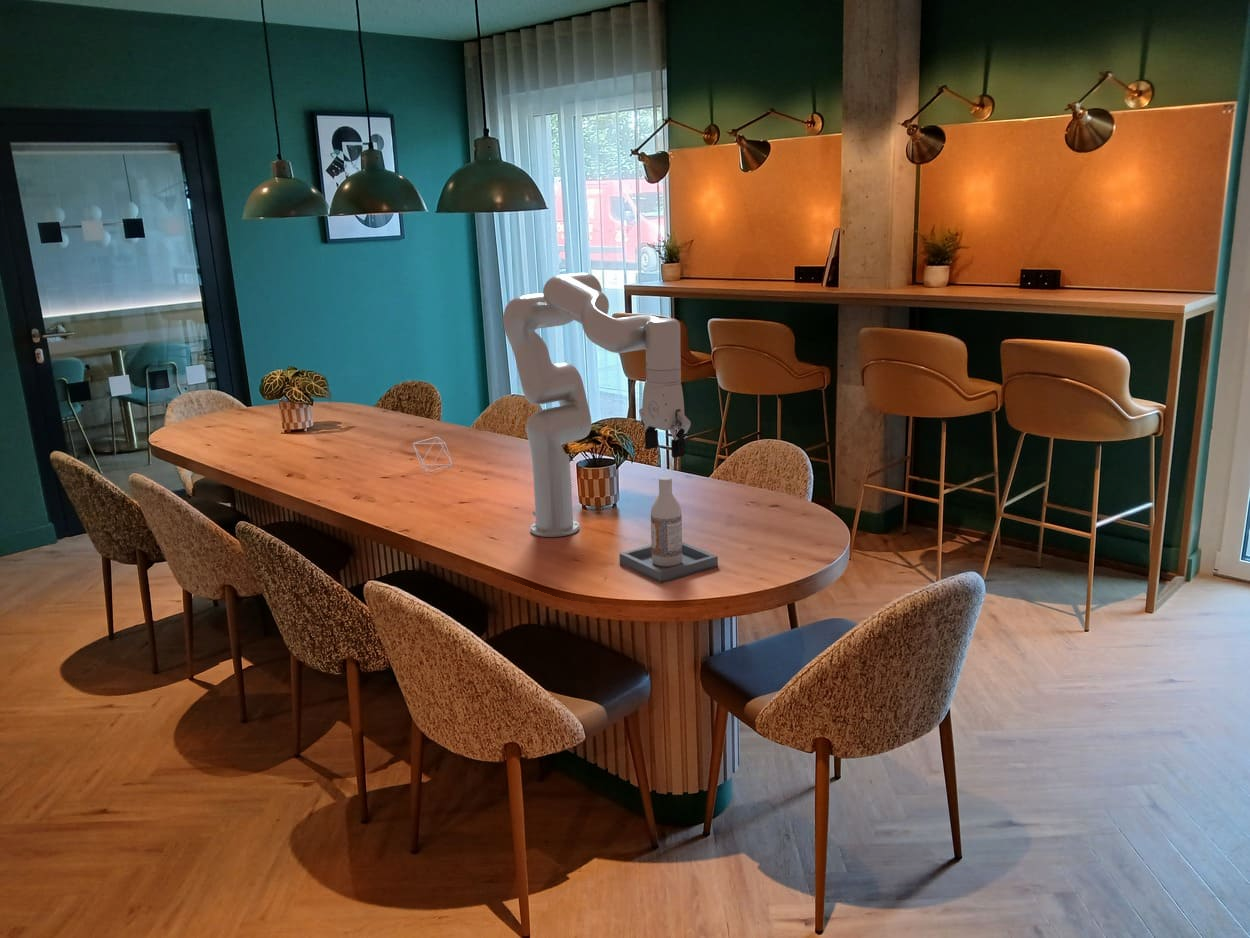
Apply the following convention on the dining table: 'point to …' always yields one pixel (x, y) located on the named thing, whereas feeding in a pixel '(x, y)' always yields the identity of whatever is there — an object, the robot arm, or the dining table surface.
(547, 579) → the dining table surface
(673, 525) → the bath foam
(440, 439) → the geometric polyhedron
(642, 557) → the blue-gray tray
